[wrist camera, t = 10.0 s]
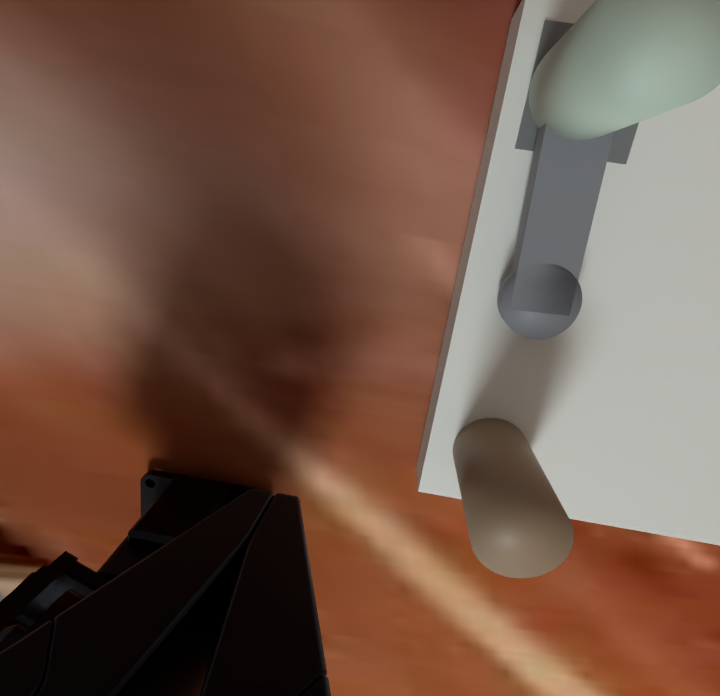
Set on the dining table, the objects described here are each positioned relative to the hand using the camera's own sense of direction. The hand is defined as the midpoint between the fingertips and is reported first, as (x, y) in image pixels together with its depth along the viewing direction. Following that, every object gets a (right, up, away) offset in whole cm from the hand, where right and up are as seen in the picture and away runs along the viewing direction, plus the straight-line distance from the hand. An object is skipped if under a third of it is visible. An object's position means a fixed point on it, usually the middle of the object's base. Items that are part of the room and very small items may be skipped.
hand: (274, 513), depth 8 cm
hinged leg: (+8, +8, +7) cm, 13 cm away
